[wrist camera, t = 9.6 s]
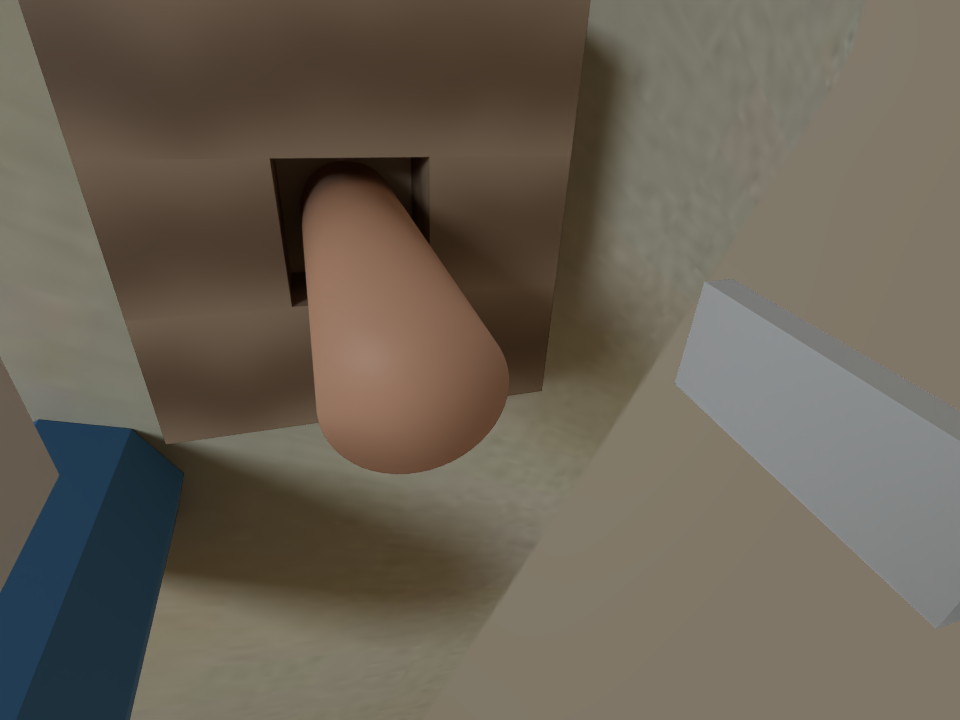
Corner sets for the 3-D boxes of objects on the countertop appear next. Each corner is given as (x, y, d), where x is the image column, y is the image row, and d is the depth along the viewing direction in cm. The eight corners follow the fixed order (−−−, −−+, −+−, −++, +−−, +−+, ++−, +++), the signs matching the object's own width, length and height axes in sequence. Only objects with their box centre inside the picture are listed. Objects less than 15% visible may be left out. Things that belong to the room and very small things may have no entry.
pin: (294, 161, 20) (304, 321, 9) (393, 160, 21) (516, 302, 10) (306, 256, 22) (327, 488, 11) (396, 251, 23) (502, 457, 12)
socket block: (64, -50, 17) (-8, -78, 13) (534, -11, 21) (593, -22, 17) (186, 377, 25) (166, 444, 21) (506, 341, 29) (541, 390, 25)
